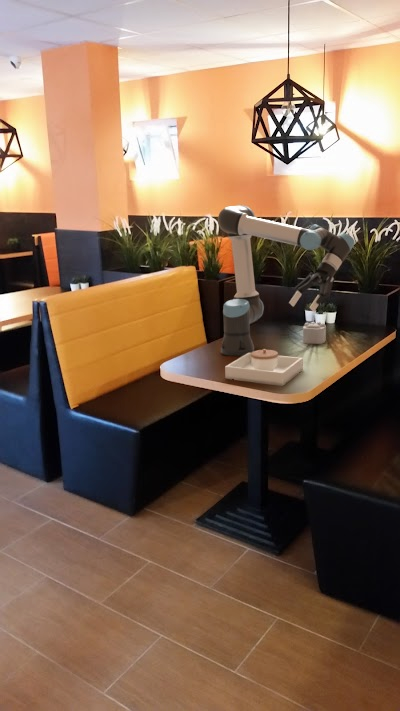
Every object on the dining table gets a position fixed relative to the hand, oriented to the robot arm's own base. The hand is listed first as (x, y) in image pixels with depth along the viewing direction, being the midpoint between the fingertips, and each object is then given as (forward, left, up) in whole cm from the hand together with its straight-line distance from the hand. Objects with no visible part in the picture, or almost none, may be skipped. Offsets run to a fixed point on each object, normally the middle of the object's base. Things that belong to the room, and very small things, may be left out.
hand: (301, 307), depth 248 cm
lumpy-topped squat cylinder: (-6, +35, -23) cm, 42 cm away
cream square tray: (-6, -24, -23) cm, 34 cm away
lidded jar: (-6, -24, -22) cm, 33 cm away
